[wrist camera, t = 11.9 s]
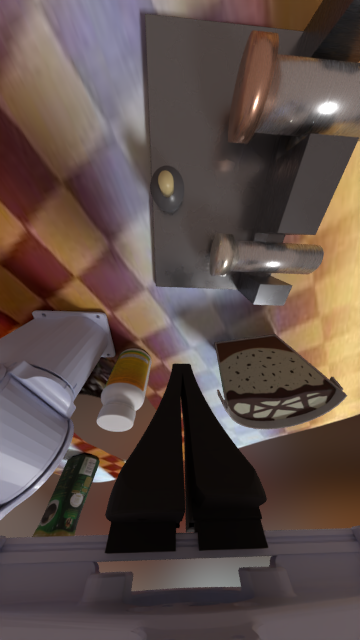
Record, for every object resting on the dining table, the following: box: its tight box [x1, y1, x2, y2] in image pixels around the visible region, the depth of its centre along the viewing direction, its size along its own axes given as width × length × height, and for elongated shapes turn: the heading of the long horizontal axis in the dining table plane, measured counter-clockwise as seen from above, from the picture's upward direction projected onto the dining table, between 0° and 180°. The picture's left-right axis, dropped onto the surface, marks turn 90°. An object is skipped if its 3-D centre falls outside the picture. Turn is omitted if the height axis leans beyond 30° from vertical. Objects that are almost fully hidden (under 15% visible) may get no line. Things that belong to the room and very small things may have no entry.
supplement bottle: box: [97, 348, 151, 432], centre depth 20 cm, size 5×5×10 cm
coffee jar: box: [32, 454, 99, 537], centre depth 39 cm, size 10×8×19 cm
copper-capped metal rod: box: [228, 30, 360, 144], centre depth 9 cm, size 9×4×4 cm, turn 87°
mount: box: [145, 0, 360, 305], centre depth 12 cm, size 13×17×5 cm
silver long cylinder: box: [209, 233, 324, 276], centre depth 14 cm, size 9×4×4 cm, turn 87°
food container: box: [215, 334, 347, 429], centre depth 20 cm, size 12×6×10 cm, turn 99°
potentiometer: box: [151, 166, 184, 214], centre depth 11 cm, size 3×3×4 cm
